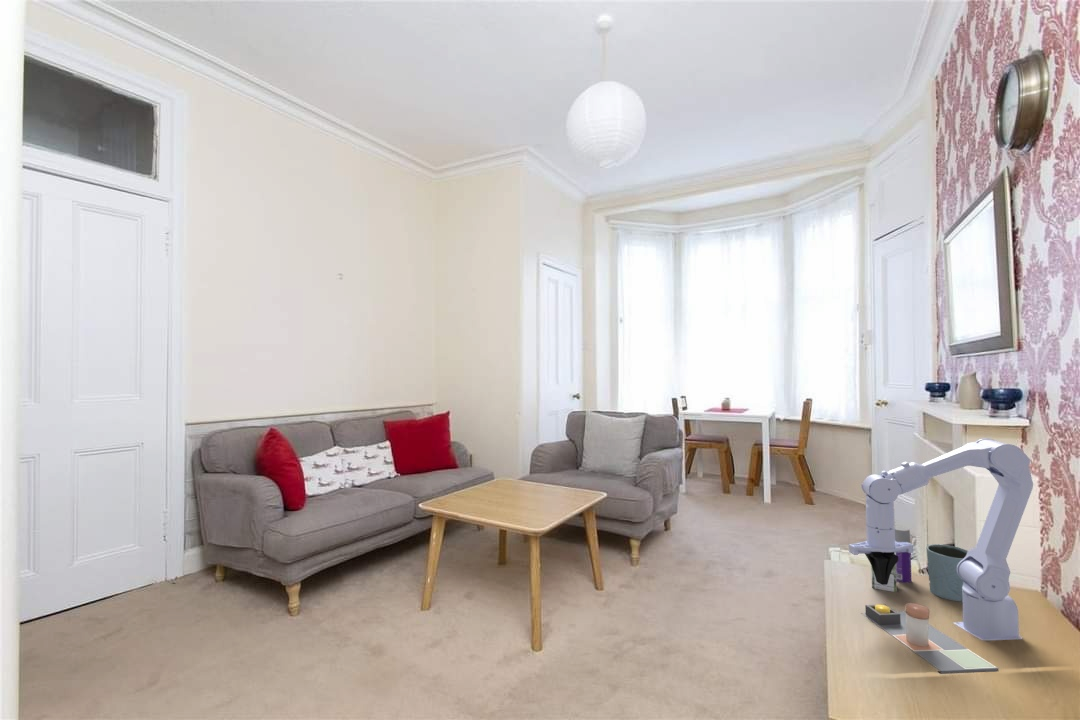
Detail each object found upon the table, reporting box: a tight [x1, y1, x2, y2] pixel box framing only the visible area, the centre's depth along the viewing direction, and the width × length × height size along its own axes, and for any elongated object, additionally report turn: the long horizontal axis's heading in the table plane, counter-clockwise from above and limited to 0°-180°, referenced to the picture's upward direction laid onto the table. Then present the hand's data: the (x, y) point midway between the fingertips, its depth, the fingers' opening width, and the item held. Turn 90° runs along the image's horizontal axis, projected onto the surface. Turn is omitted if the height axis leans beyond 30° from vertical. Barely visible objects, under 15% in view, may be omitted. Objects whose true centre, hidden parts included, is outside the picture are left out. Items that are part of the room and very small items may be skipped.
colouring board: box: [860, 610, 999, 675], centre depth 115 cm, size 12×24×1 cm, turn 2°
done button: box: [874, 604, 891, 613], centre depth 123 cm, size 3×3×3 cm
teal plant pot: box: [925, 543, 969, 603], centre depth 136 cm, size 10×10×12 cm
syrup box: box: [870, 541, 898, 593], centre depth 141 cm, size 6×6×14 cm
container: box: [895, 525, 912, 584], centre depth 146 cm, size 5×5×15 cm
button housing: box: [864, 603, 901, 625], centre depth 123 cm, size 5×5×2 cm
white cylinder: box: [905, 602, 930, 647], centre depth 113 cm, size 4×4×8 cm
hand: (881, 582), depth 123 cm, fingers closed
